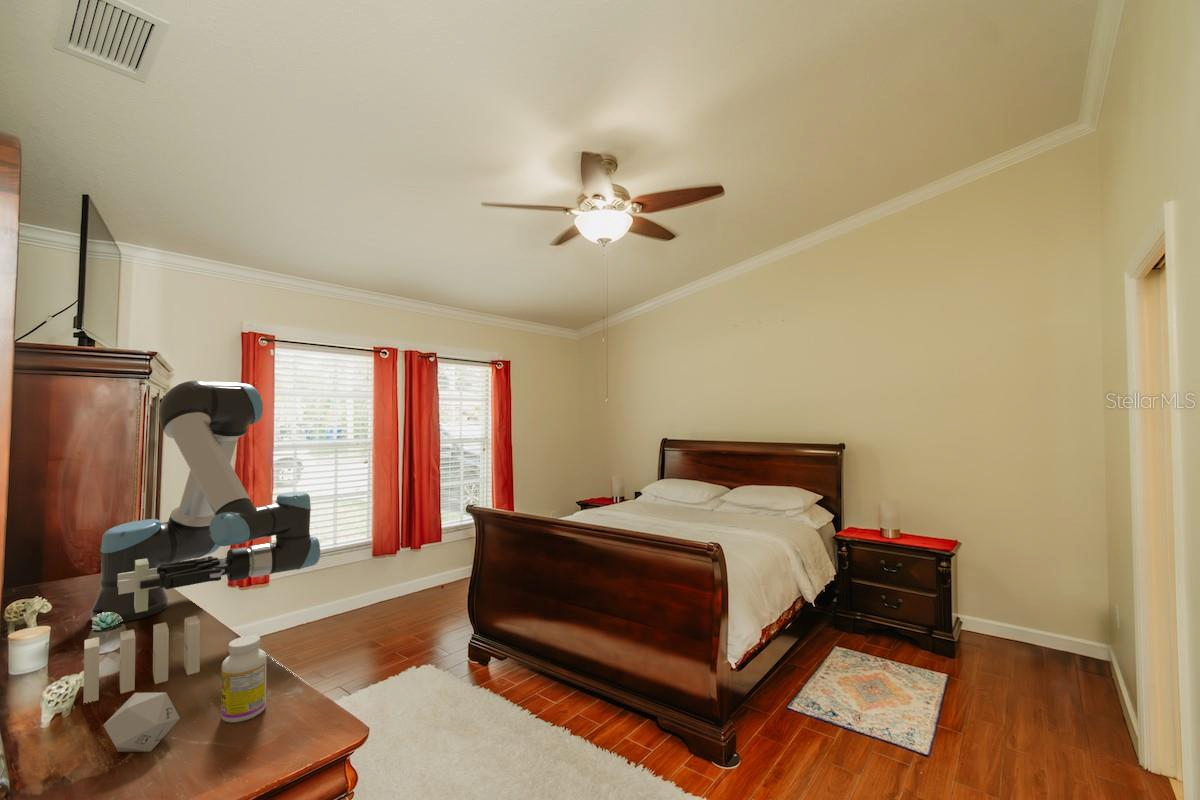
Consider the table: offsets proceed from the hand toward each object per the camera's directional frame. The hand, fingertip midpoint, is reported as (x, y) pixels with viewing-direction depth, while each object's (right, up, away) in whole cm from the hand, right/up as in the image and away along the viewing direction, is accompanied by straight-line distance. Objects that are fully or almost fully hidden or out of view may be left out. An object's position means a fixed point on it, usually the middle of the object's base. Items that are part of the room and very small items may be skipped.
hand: (118, 584), depth 111 cm
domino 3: (+3, -6, +3) cm, 7 cm away
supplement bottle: (+39, -17, -18) cm, 46 cm away
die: (+29, -17, -27) cm, 43 cm away
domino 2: (+10, -17, -9) cm, 22 cm away
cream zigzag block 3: (+14, -17, -6) cm, 23 cm away
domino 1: (+7, -17, -13) cm, 22 cm away
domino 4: (+17, -17, -2) cm, 24 cm away
